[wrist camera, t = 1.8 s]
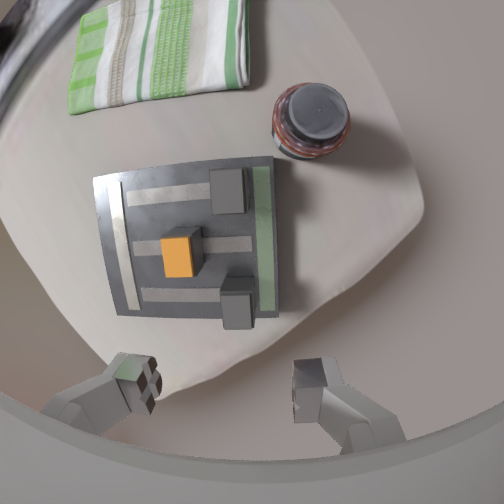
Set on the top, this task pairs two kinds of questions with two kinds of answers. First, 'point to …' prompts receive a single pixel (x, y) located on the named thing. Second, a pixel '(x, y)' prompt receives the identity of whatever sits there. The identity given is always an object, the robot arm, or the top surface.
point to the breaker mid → (182, 252)
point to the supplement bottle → (310, 121)
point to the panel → (182, 216)
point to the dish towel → (159, 51)
